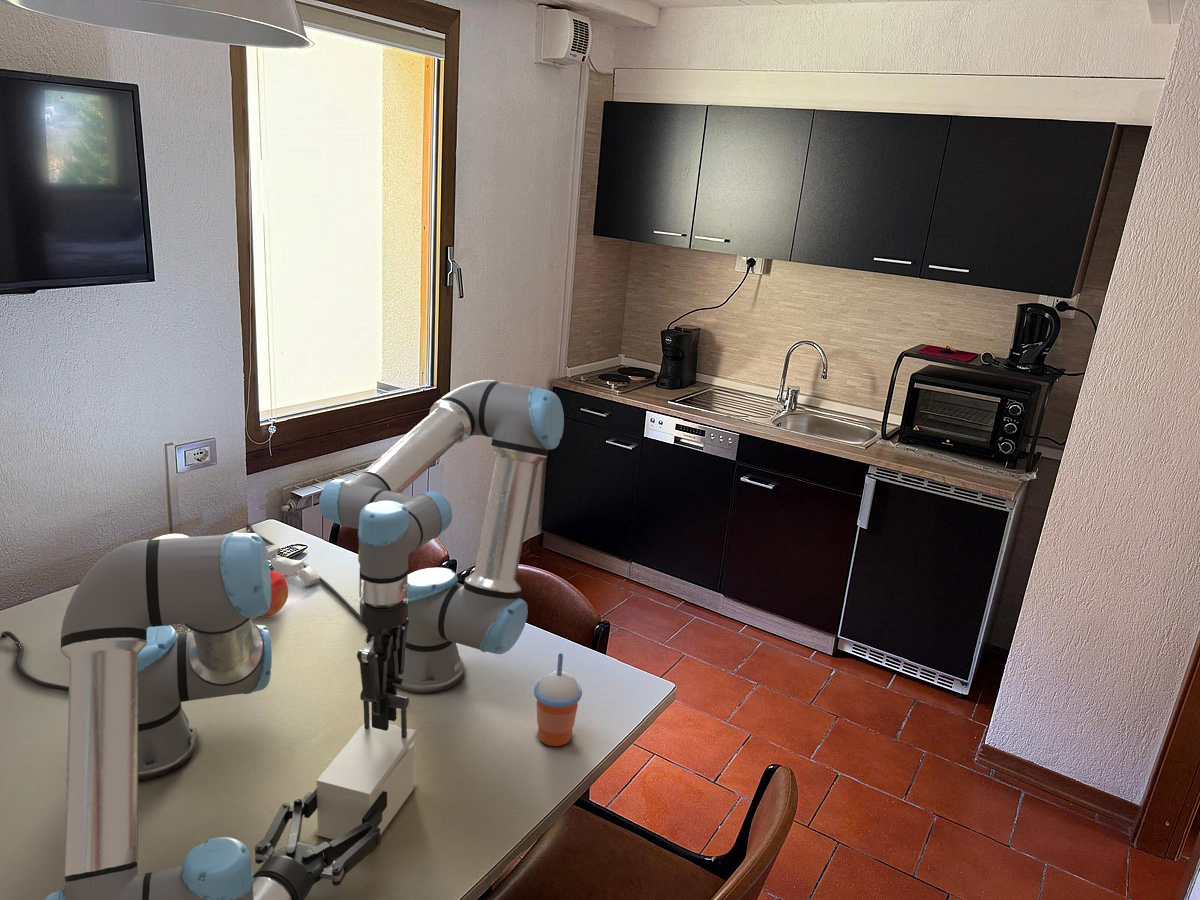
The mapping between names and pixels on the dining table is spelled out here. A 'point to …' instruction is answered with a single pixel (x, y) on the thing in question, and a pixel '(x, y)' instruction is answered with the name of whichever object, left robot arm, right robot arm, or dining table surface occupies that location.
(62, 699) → the dining table surface
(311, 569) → the clamp
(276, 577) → the apple
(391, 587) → the right robot arm
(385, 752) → the lid
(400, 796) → the chest
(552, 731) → the cup with straw
